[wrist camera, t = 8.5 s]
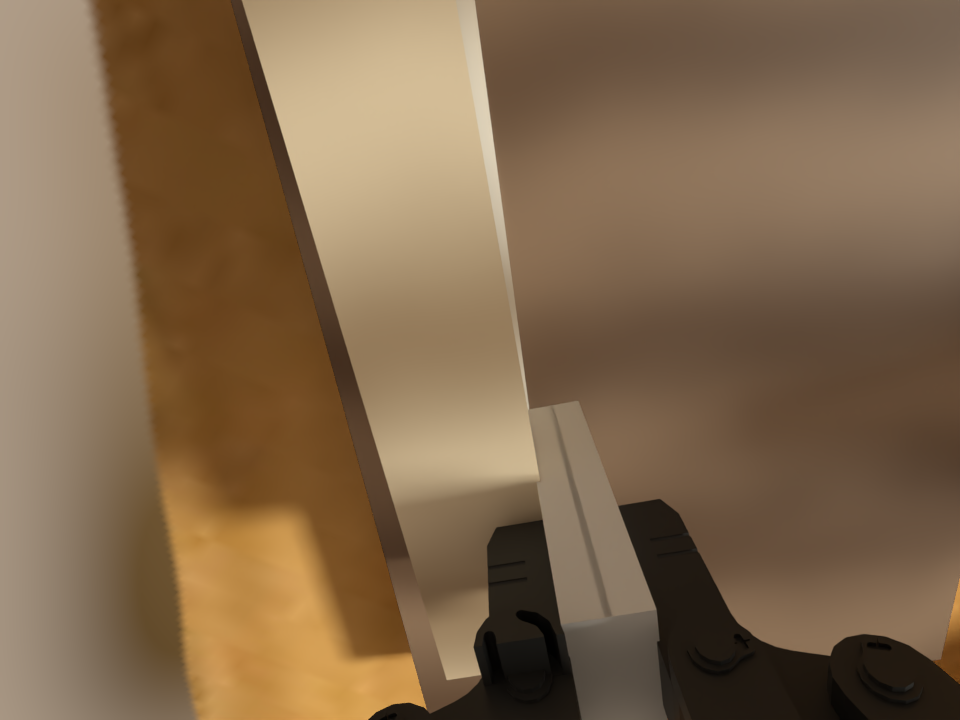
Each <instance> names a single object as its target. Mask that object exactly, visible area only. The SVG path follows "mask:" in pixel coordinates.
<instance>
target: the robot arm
mask: <svg viewBox="0 0 960 720" xmlns="http://www.w3.org/2000/svg"><path fill="white" fill-rule="evenodd" d="M528 414H529V420H530V425H531V431H532V437H533V443H534V448H535V454H536V460H537V465H538V471H539V477H540V482H536V483H537V489H538V495H539V500H540V506H541V512H542V518H543V520H539V521H533V522H527V523H520V524H514V525H508V526H502V527H496V529H495V531H494V533H493V535H492V537H491V539H490V541H489V543H488V545H487V567H488V601H489V617H488V618H486V620H485V621H484V622H483V624H482V625H481V627H480V628H479V630H478V631H477V633H476V638H475V642H474V647H473V648H474V651H475V655H476V658H477V662H478V666H479V669H480V673H481V676H482V678H481V679H480V681H479V682H478V684H477V685H476V686H475V687H474V688H473V689H472V690H471V691H470V692H469V693H468V694H466V695H464V696H463V697H461V698H460V699H458V700H457V701H455V702H453V703H451V704H449V705H447V706H445V707H443V708H441V709H439V710H436V711H434V712H432V713H429V712H428V711H427V710H426V709H425V708H424V707H421V706H418V705H415V704H412V703H402V704H393V705H391V706H389V707H386V708H384V709H382V710H380V711H378V712H376V713H375V714H374V715H373V716H372V717H371V718H370V719H368V720H667V719H668V720H960V684H959V683H957V682H956V681H955V680H954V679H953V678H952V677H950V676H949V675H948V674H947V673H946V672H944V671H943V670H942V669H941V668H940V667H939V666H937V665H936V664H935V663H934V662H933V661H931V660H930V659H929V658H927V657H926V656H924V655H923V654H921V653H920V652H918V651H917V650H915V649H914V648H912V647H911V646H909V645H907V644H904V643H902V642H899V641H896V640H894V639H891V638H889V637H886V636H878V635H870V634H860V635H855V636H850V637H846V638H844V639H843V640H841V641H840V642H839V643H837V644H836V645H835V646H834V647H833V650H832V652H831V655H830V656H828V655H821V654H814V653H807V652H799V651H792V650H788V649H783V648H779V647H775V646H773V645H770V644H768V643H766V642H763V641H761V640H759V639H758V638H756V637H755V636H753V635H752V634H751V632H750V631H748V630H747V629H745V628H744V627H742V626H741V625H740V624H738V623H737V621H736V620H735V618H734V617H733V615H732V614H731V612H730V610H729V609H728V607H727V605H726V603H725V601H724V599H723V597H722V595H721V593H720V591H719V589H718V587H717V586H716V584H715V582H714V580H713V578H712V576H711V574H710V572H709V570H708V568H707V566H706V564H705V563H704V561H703V559H702V557H701V555H700V553H699V552H698V551H697V547H696V545H695V543H694V542H693V540H692V538H691V536H689V532H688V530H687V528H686V526H685V524H684V522H683V520H682V519H681V517H680V515H679V513H678V512H676V511H675V510H674V509H673V508H671V507H670V506H669V505H667V504H666V503H665V502H664V501H662V500H661V499H656V500H650V501H644V502H638V503H632V504H626V505H619V506H618V505H617V503H616V500H615V497H614V495H613V492H612V489H611V486H610V484H609V481H608V478H607V476H606V473H605V470H604V468H603V465H602V462H601V460H600V457H599V454H598V452H597V449H596V446H595V444H594V441H593V438H592V436H591V433H590V430H589V428H588V425H587V422H586V420H585V417H584V414H583V412H582V409H581V406H580V404H579V401H574V402H568V403H563V404H557V405H551V406H546V407H540V408H535V409H529V410H528Z"/></svg>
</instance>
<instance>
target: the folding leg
mask: <svg viewBox="0 0 960 720" xmlns="http://www.w3.org/2000/svg"><path fill="white" fill-rule="evenodd" d="M242 2H243V6H244V9H245V12H246V16H247V19H248V22H249V25H250V29H251V32H252V35H253V39H254V42H255V45H256V49H257V52H258V55H259V59H260V62H261V65H262V69H263V72H264V75H265V79H266V82H267V85H268V89H269V92H270V95H271V98H272V102H273V105H274V108H275V112H276V115H277V118H278V122H279V125H280V128H281V132H282V135H283V138H284V142H285V145H286V148H287V152H288V155H289V158H290V161H291V165H292V168H293V171H294V175H295V178H296V181H297V185H298V188H299V191H300V195H301V198H302V201H303V205H304V208H305V211H306V215H307V218H308V221H309V225H310V228H311V231H312V234H313V238H314V241H315V244H316V248H317V251H318V254H319V258H320V261H321V264H322V268H323V271H324V274H325V278H326V281H327V284H328V288H329V291H330V294H331V297H332V301H333V304H334V307H335V311H336V314H337V317H338V321H339V324H340V327H341V331H342V334H343V337H344V341H345V344H346V347H347V351H348V354H349V357H350V361H351V364H352V367H353V370H354V374H355V377H356V380H357V384H358V387H359V390H360V394H361V397H362V400H363V404H364V407H365V410H366V414H367V417H368V420H369V424H370V427H371V430H372V433H373V437H374V440H375V443H376V447H377V450H378V453H379V457H380V460H381V463H382V467H383V470H384V473H385V477H386V480H387V483H388V487H389V490H390V493H391V497H392V500H393V503H394V506H395V510H396V513H397V516H398V520H399V523H400V526H401V530H402V533H403V536H404V540H405V543H406V546H407V550H408V553H409V556H410V560H411V563H412V566H413V569H414V573H415V576H416V579H417V583H418V586H419V589H420V593H421V596H422V599H423V603H424V606H425V609H426V613H427V616H428V619H429V623H430V626H431V629H432V633H433V636H434V639H435V642H436V646H437V649H438V652H439V656H440V659H441V662H442V666H443V669H444V672H445V676H446V679H447V680H451V679H458V678H464V677H471V676H478V675H481V673H480V669H479V666H478V662H477V658H476V655H475V651H474V648H473V647H474V642H475V638H476V633H477V631H478V630H479V628H480V627H481V625H482V624H483V622H484V621H485V620H486V618H488V617H489V601H488V567H487V545H488V543H489V541H490V539H491V537H492V535H493V533H494V531H495V529H496V527H502V526H508V525H514V524H520V523H527V522H533V521H539V520H543V518H542V512H541V506H540V500H539V495H538V489H537V483H536V482H540V477H539V471H538V465H537V460H536V454H535V448H534V443H533V437H532V431H531V425H530V420H529V414H528V408H527V403H526V397H525V391H524V386H523V380H522V374H521V369H520V363H519V357H518V351H517V346H516V340H515V334H514V329H513V323H512V317H511V312H510V306H509V300H508V295H507V289H506V283H505V277H504V272H503V266H502V260H501V255H500V249H499V243H498V238H497V232H496V226H495V221H494V215H493V209H492V203H491V198H490V192H489V186H488V181H487V175H486V169H485V164H484V158H483V152H482V146H481V141H480V135H479V129H478V124H477V118H476V112H475V107H474V101H473V95H472V90H471V84H470V78H469V72H468V67H467V61H466V55H465V50H464V44H463V38H462V33H461V27H460V21H459V16H458V10H457V4H456V0H242Z"/></svg>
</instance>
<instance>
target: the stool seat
mask: <svg viewBox="0 0 960 720" xmlns="http://www.w3.org/2000/svg"><path fill="white" fill-rule="evenodd" d="M231 3H232V7H233V10H234V14H235V18H236V21H237V25H238V28H239V32H240V36H241V39H242V43H243V47H244V50H245V54H246V57H247V61H248V65H249V68H250V72H251V75H252V79H253V83H254V86H255V90H256V93H257V97H258V101H259V104H260V108H261V112H262V115H263V119H264V122H265V126H266V130H267V133H268V137H269V140H270V144H271V148H272V151H273V155H274V159H275V162H276V166H277V169H278V173H279V177H280V180H281V184H282V187H283V191H284V195H285V198H286V202H287V205H288V209H289V213H290V216H291V220H292V224H293V227H294V231H295V234H296V238H297V242H298V245H299V249H300V252H301V256H302V260H303V263H304V267H305V271H306V274H307V278H308V281H309V285H310V289H311V292H312V296H313V299H314V303H315V307H316V310H317V314H318V317H319V321H320V325H321V328H322V332H323V336H324V339H325V343H326V346H327V350H328V354H329V357H330V361H331V364H332V368H333V372H334V375H335V379H336V382H337V386H338V390H339V393H340V397H341V401H342V404H343V408H344V411H345V415H346V419H347V422H348V426H349V429H350V433H351V437H352V440H353V444H354V448H355V451H356V455H357V458H358V462H359V466H360V469H361V473H362V476H363V480H364V484H365V487H366V491H367V494H368V498H369V502H370V505H371V509H372V513H373V516H374V520H375V523H376V527H377V531H378V534H379V538H380V541H381V545H382V549H383V552H384V556H385V559H386V563H387V567H388V570H389V574H390V578H391V581H392V585H393V588H394V592H395V596H396V599H397V603H398V606H399V610H400V614H401V617H402V621H403V625H404V628H405V632H406V635H407V639H408V643H409V646H410V650H411V653H412V657H413V661H414V664H415V668H416V671H417V675H418V679H419V682H420V686H421V690H422V693H423V697H424V700H425V704H426V708H427V711H428V712H429V713H432V712H434V711H436V710H439V709H441V708H443V707H445V706H447V705H449V704H451V703H453V702H455V701H457V700H458V699H460V698H461V697H463V696H464V695H466V694H468V693H469V692H470V691H471V690H472V689H473V688H474V687H475V686H476V685H477V684H478V682H479V681H480V679H481V678H482V676H481V675H478V676H471V677H464V678H458V679H451V680H447V679H446V676H445V672H444V669H443V666H442V662H441V659H440V656H439V652H438V649H437V646H436V642H435V639H434V636H433V633H432V629H431V626H430V623H429V619H428V616H427V613H426V609H425V606H424V603H423V599H422V596H421V593H420V589H419V586H418V583H417V579H416V576H415V573H414V569H413V566H412V563H411V560H410V556H409V553H408V550H407V546H406V543H405V540H404V536H403V533H402V530H401V526H400V523H399V520H398V516H397V513H396V510H395V506H394V503H393V500H392V497H391V493H390V490H389V487H388V483H387V480H386V477H385V473H384V470H383V467H382V463H381V460H380V457H379V453H378V450H377V447H376V443H375V440H374V437H373V433H372V430H371V427H370V424H369V420H368V417H367V414H366V410H365V407H364V404H363V400H362V397H361V394H360V390H359V387H358V384H357V380H356V377H355V374H354V370H353V367H352V364H351V361H350V357H349V354H348V351H347V347H346V344H345V341H344V337H343V334H342V331H341V327H340V324H339V321H338V317H337V314H336V311H335V307H334V304H333V301H332V297H331V294H330V291H329V288H328V284H327V281H326V278H325V274H324V271H323V268H322V264H321V261H320V258H319V254H318V251H317V248H316V244H315V241H314V238H313V234H312V231H311V228H310V225H309V221H308V218H307V215H306V211H305V208H304V205H303V201H302V198H301V195H300V191H299V188H298V185H297V181H296V178H295V175H294V171H293V168H292V165H291V161H290V158H289V155H288V152H287V148H286V145H285V142H284V138H283V135H282V132H281V128H280V125H279V122H278V118H277V115H276V112H275V108H274V105H273V102H272V98H271V95H270V92H269V89H268V85H267V82H266V79H265V75H264V72H263V69H262V65H261V62H260V59H259V55H258V52H257V49H256V45H255V42H254V39H253V35H252V32H251V29H250V25H249V22H248V19H247V16H246V12H245V9H244V6H243V2H242V0H231ZM456 4H457V10H458V16H459V21H460V27H461V33H462V38H463V44H464V50H465V55H466V61H467V67H468V72H469V78H470V84H471V90H472V95H473V101H474V107H475V112H476V118H477V124H478V129H479V135H480V141H481V146H482V152H483V158H484V164H485V169H486V175H487V181H488V186H489V192H490V198H491V203H492V209H493V215H494V221H495V226H496V232H497V238H498V243H499V249H500V255H501V260H502V266H503V272H504V277H505V283H506V289H507V295H508V300H509V306H510V312H511V317H512V323H513V329H514V334H515V340H516V346H517V351H518V357H519V363H520V369H521V374H522V380H523V386H524V391H525V397H526V403H527V408H528V410H529V409H535V408H540V407H546V406H551V405H557V404H563V403H568V402H574V401H579V404H580V406H581V409H582V412H583V414H584V417H585V420H586V422H587V425H588V428H589V430H590V433H591V436H592V438H593V441H594V444H595V446H596V449H597V452H598V454H599V457H600V460H601V462H602V465H603V468H604V470H605V473H606V476H607V478H608V481H609V484H610V486H611V489H612V492H613V495H614V497H615V500H616V503H617V505H618V506H619V505H626V504H632V503H638V502H644V501H650V500H656V499H661V500H662V501H664V502H665V503H666V504H667V505H669V506H670V507H671V508H673V509H674V510H675V511H676V512H678V513H679V515H680V517H681V519H682V520H683V522H684V524H685V526H686V528H687V530H688V532H689V536H691V538H692V540H693V542H694V543H695V545H696V547H697V551H698V552H699V553H700V555H701V557H702V559H703V561H704V563H705V564H706V566H707V568H708V570H709V572H710V574H711V576H712V578H713V580H714V582H715V584H716V586H717V587H718V589H719V591H720V593H721V595H722V597H723V599H724V601H725V603H726V605H727V607H728V609H729V610H730V612H731V614H732V615H733V617H734V618H735V620H736V621H737V623H738V624H740V625H741V626H742V627H744V628H745V629H747V630H748V631H750V632H751V634H752V635H753V636H755V637H756V638H758V639H759V640H761V641H763V642H766V643H768V644H770V645H773V646H775V647H779V648H783V649H788V650H792V651H799V652H807V653H814V654H821V655H828V656H830V655H831V652H832V650H833V647H834V646H835V645H836V644H837V643H839V642H840V641H841V640H843V639H844V638H846V637H850V636H855V635H860V634H870V635H878V636H886V637H889V638H891V639H894V640H896V641H899V642H902V643H904V644H907V645H909V646H911V647H912V648H914V649H915V650H917V651H918V652H920V653H921V654H923V655H924V656H926V657H927V658H929V659H930V660H931V661H933V660H941V657H942V652H943V648H944V644H945V639H946V635H947V630H948V626H949V622H950V617H951V613H952V609H953V604H954V600H955V595H956V591H957V587H958V582H959V578H960V0H456Z"/></svg>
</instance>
